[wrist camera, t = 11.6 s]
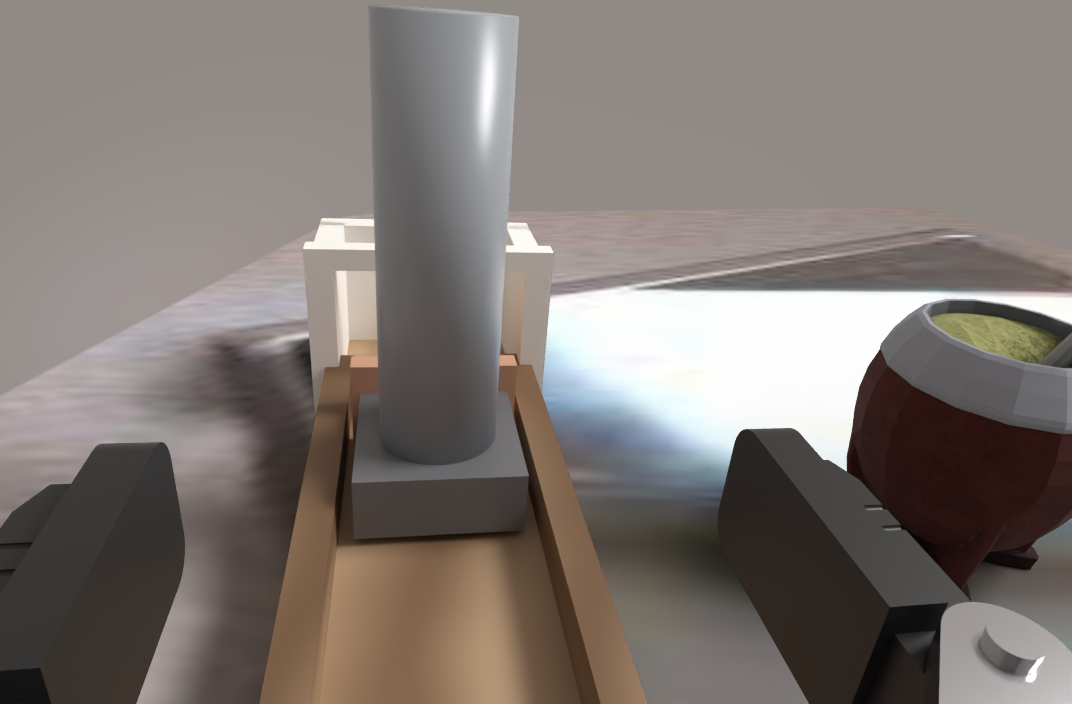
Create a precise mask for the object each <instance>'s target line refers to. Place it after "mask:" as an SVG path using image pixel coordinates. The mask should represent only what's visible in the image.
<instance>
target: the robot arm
mask: <svg viewBox="0 0 1072 704" xmlns="http://www.w3.org/2000/svg"><path fill="white" fill-rule="evenodd" d="M718 533H719V539H720V543H721V546H722V549H723V552H724V554H725V556H726V557H727V559H728V561H729V563H730V565H731V566H732V568H733V570H734V572H735V573H736V575H737V577H738V579H739V580H740V582H741V584H742V586H743V588H744V589H745V591H746V593H747V595H748V596H749V598H750V600H751V602H752V603H753V605H754V607H755V609H756V611H757V612H758V614H759V616H760V618H761V619H762V621H763V623H764V625H765V626H766V628H767V630H768V632H769V634H770V635H771V637H772V639H773V641H774V642H775V644H776V646H777V648H778V649H779V651H780V653H781V655H782V657H783V658H784V660H785V662H786V664H787V665H788V667H789V669H790V671H791V672H792V674H793V676H794V678H795V680H796V681H797V683H798V685H799V687H800V688H801V690H802V692H803V694H804V695H805V697H806V699H807V701H808V703H809V704H1072V653H1071V652H1070V651H1069V650H1068V649H1067V648H1066V646H1065V645H1064V644H1063V643H1062V642H1061V641H1059V640H1058V639H1057V638H1056V637H1055V636H1054V635H1053V634H1051V633H1050V632H1048V631H1047V630H1046V629H1044V628H1043V627H1042V626H1040V625H1038V624H1037V623H1035V622H1033V621H1032V620H1030V619H1028V618H1026V617H1024V616H1022V615H1020V614H1018V613H1016V612H1013V611H1011V610H1008V609H1006V608H1002V607H999V606H996V605H992V604H987V603H980V602H971V601H970V600H969V598H968V597H967V596H966V595H965V594H964V593H963V592H962V591H961V590H960V589H959V588H958V586H957V585H956V584H955V583H954V582H953V581H952V580H951V579H950V578H949V577H948V576H947V574H946V573H945V572H944V571H943V570H942V569H941V568H940V567H939V566H938V565H937V564H936V563H935V561H934V560H933V559H932V558H931V557H930V556H929V555H928V554H927V553H926V552H925V551H924V549H923V548H922V547H921V546H920V545H919V544H918V543H917V542H916V541H915V540H914V539H913V537H912V536H911V535H910V534H909V533H908V532H907V531H906V530H901V524H900V523H899V522H898V521H897V520H896V519H895V518H894V517H893V516H892V515H891V513H890V512H889V511H888V510H887V509H884V510H883V508H882V504H881V503H880V502H879V500H878V499H877V498H876V497H875V496H874V495H873V494H872V493H871V492H870V491H869V490H868V488H867V487H866V486H865V485H864V484H863V483H862V482H861V481H860V480H859V479H857V478H856V477H854V476H853V475H851V474H849V473H848V472H846V471H845V470H843V469H842V468H840V467H839V466H837V465H835V464H834V463H832V462H831V461H829V460H823V459H822V458H821V457H820V456H819V455H818V454H817V452H816V451H815V450H814V449H813V448H812V447H811V446H810V444H809V443H808V442H807V441H806V440H805V439H804V438H803V437H802V435H801V434H800V433H799V432H798V431H796V430H795V429H792V428H779V429H745V430H742V431H741V432H740V433H739V434H738V436H737V438H736V440H735V444H734V448H733V452H732V456H731V460H730V465H729V469H728V473H727V477H726V482H725V486H724V490H723V494H722V498H721V503H720V507H719V512H718ZM184 556H185V540H184V531H183V526H182V520H181V514H180V508H179V502H178V497H177V491H176V485H175V479H174V473H173V467H172V462H171V457H170V453H169V450H168V448H167V446H166V445H165V444H164V443H163V442H155V443H114V444H99V445H98V446H96V447H95V448H94V450H93V451H92V453H91V454H90V456H89V457H88V459H87V460H86V462H85V463H84V465H83V466H82V468H81V470H80V471H79V473H78V474H77V476H76V477H75V479H74V480H73V482H72V483H71V484H54V485H49V486H48V487H46V488H45V489H44V490H42V491H41V492H39V493H38V494H37V495H35V496H34V497H32V498H31V499H30V500H28V501H27V502H26V503H24V504H23V505H21V506H20V507H19V508H17V509H16V510H15V511H13V512H12V513H11V515H10V516H9V517H8V519H7V520H6V521H5V523H4V524H3V526H2V527H1V528H0V704H136V703H137V700H138V697H139V694H140V691H141V689H142V686H143V683H144V680H145V678H146V675H147V672H148V669H149V667H150V664H151V661H152V658H153V656H154V653H155V650H156V647H157V645H158V642H159V639H160V636H161V634H162V631H163V628H164V625H165V623H166V620H167V617H168V614H169V612H170V609H171V606H172V603H173V601H174V598H175V595H176V592H177V590H178V587H179V584H180V581H181V577H182V572H183V566H184Z"/></svg>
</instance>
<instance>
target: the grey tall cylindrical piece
mask: <svg viewBox="0 0 1072 704" xmlns="http://www.w3.org/2000/svg"><path fill="white" fill-rule="evenodd" d="M368 8H369V48H370V86H371V125H372V162H373V200H374V239H375V277H376V315H377V353H378V356H359V357H351V364H350V378H351V400H352V422H353V443H355V453H354V463H353V473H352V503H353V524H354V539H369V538H388V537H407V536H426V535H445V534H464V533H483V532H502V531H521V530H524V529H525V517H526V505H527V493H528V481H529V474H528V471H527V467H526V463H525V459H524V455H523V451H522V447H521V443H520V440H519V436H518V432H517V428H516V424H515V420H514V404H515V389H516V375H517V363H516V360H515V357H514V355H500V346H501V328H502V311H503V293H504V275H505V258H506V240H507V222H508V205H509V187H510V186H509V185H510V169H511V151H512V134H513V115H514V98H515V81H516V63H517V45H518V27H519V17H517V16H512V15H504V14H495V13H485V12H474V11H462V10H451V9H437V8H424V7H408V6H407V7H406V6H387V5H369V6H368Z"/></svg>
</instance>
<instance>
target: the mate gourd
mask: <svg viewBox="0 0 1072 704" xmlns="http://www.w3.org/2000/svg"><path fill="white" fill-rule="evenodd" d="M880 348H881V349H880V350H879V352H878V353H877V354H876V356H875V357H874V359H873V360H872V362H871V363H870V365H869V366H868V368H867V371H866V373H865V375H864V378H863V380H862V382H861V385H860V387H859V392H858V396H857V401H856V405H855V410H854V419H853V427H852V433H851V438H850V443H849V448H848V453H847V472H848V473H849V474H851V475H853V476H854V477H856V478H857V479H859V480H860V481H861V482H862V483H863V484H864V485H865V486H866V487H867V488H868V490H869V491H870V492H871V493H872V494H873V495H874V496H875V497H876V498H877V499H878V500H879V502H880V503H881V504H882V508H883V510H884V509H887V510H888V511H889V512H890V513H891V515H892V516H893V517H894V518H895V519H896V520H897V521H898V522H899V523H900V524H901V530H906V531H907V532H908V533H909V534H910V535H911V536H912V537H913V539H914V540H915V541H916V542H917V543H918V544H919V545H920V546H921V547H922V548H923V549H924V551H925V552H926V553H927V554H928V555H929V556H930V557H931V558H932V559H933V560H934V561H935V563H936V564H937V565H938V566H939V567H940V568H941V569H942V570H943V571H944V572H945V573H946V574H947V576H948V577H949V578H950V579H951V580H952V581H953V582H954V583H955V584H956V585H957V586H958V588H959V589H960V590H961V591H962V592H963V593H964V594H965V595H966V596H967V597H968V598H969V600H971V597H970V592H969V588H968V586H967V583H966V582H967V581H968V579H969V578H970V576H971V575H972V573H973V572H974V571H975V569H976V568H977V567H978V566H979V564H980V563H981V562H982V560H984V561H989V562H993V563H998V564H1003V565H1008V566H1013V567H1018V568H1024V569H1030V570H1031V567H1032V566H1033V565H1034V563H1035V562H1036V561H1037V560H1038V555H1037V553H1036V551H1035V550H1034V548H1032V547H1031V546H1032V545H1033V543H1034V542H1035V541H1036V540H1037V539H1038V538H1040V537H1042V536H1044V535H1046V534H1047V533H1049V532H1051V531H1053V530H1055V529H1056V528H1058V527H1059V526H1061V525H1062V524H1064V523H1065V522H1066V521H1068V520H1069V519H1071V518H1072V324H1071V323H1068V322H1065V321H1062V320H1060V319H1057V318H1054V317H1051V316H1048V315H1046V314H1043V313H1040V312H1036V311H1032V310H1028V309H1024V308H1020V307H1016V306H1012V305H1008V304H1002V303H996V302H989V301H982V300H975V299H944V300H940V301H936V302H931V303H928V304H925V305H923V306H921V307H920V308H918V309H917V310H915V311H914V312H912V313H911V314H909V315H908V316H907V317H906V318H904V319H903V320H902V321H901V322H900V323H899V324H898V325H896V326H895V327H894V328H893V330H892V331H891V332H890V333H889V335H888V336H887V337H886V338H885V340H884V341H883V342H882V343H881V346H880Z"/></svg>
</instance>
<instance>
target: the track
mask: <svg viewBox="0 0 1072 704" xmlns="http://www.w3.org/2000/svg"><path fill="white" fill-rule="evenodd" d="M500 355H514V357H515V360H516V363H517V375H516V389H515V404H514V420H515V424H516V428H517V432H518V436H519V440H520V443H521V447H522V451H523V455H524V459H525V463H526V467H527V471H528V474H529V481H528V493H527V505H526V517H525V529H524V530H521V531H502V532H483V533H464V534H445V535H426V536H407V537H388V538H369V539H354V524H353V503H352V473H353V463H354V453H355V443H353V422H352V400H351V378H350V364H351V357H359V356H378V353H377V340H349V345H348V352H347V355H340V362H339V367H325V370H324V375H323V380H322V386H321V391H320V396H319V401H318V406H317V411H316V416H315V421H314V426H313V431H312V436H311V442H310V447H309V452H308V457H307V462H306V467H305V472H304V477H303V482H302V487H301V493H300V498H299V503H298V508H297V513H296V518H295V523H294V528H293V533H292V538H291V543H290V549H289V554H288V559H287V564H286V569H285V574H284V579H283V584H282V589H281V594H280V600H279V605H278V610H277V615H276V620H275V625H274V630H273V635H272V640H271V645H270V650H269V656H268V661H267V666H266V671H265V676H264V681H263V686H262V691H261V696H260V701H259V704H647V701H646V698H645V695H644V692H643V689H642V686H641V683H640V680H639V678H638V675H637V672H636V669H635V666H634V663H633V660H632V657H631V654H630V651H629V648H628V645H627V642H626V639H625V636H624V634H623V631H622V628H621V625H620V622H619V619H618V616H617V613H616V610H615V607H614V604H613V601H612V598H611V595H610V592H609V590H608V587H607V584H606V581H605V578H604V575H603V572H602V569H601V566H600V563H599V560H598V557H597V554H596V551H595V549H594V546H593V543H592V540H591V537H590V534H589V531H588V528H587V525H586V522H585V519H584V516H583V513H582V510H581V507H580V505H579V502H578V499H577V496H576V493H575V490H574V487H573V484H572V481H571V478H570V475H569V472H568V469H567V466H566V463H565V461H564V458H563V455H562V452H561V449H560V446H559V443H558V440H557V437H556V434H555V431H554V428H553V425H552V422H551V419H550V417H549V414H548V411H547V408H546V405H545V402H544V399H543V396H542V393H541V390H540V387H539V384H538V381H537V378H536V376H535V373H534V370H533V367H532V365H519V362H518V358H517V355H516V354H505V352H504V348H503V345H502V341H501V346H500Z"/></svg>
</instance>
